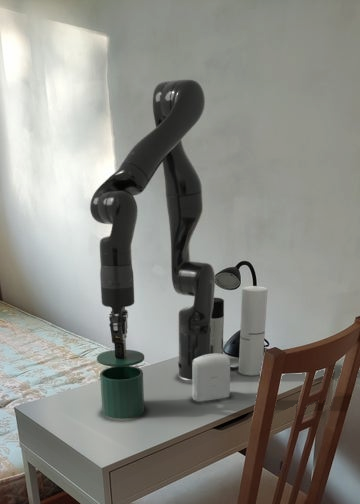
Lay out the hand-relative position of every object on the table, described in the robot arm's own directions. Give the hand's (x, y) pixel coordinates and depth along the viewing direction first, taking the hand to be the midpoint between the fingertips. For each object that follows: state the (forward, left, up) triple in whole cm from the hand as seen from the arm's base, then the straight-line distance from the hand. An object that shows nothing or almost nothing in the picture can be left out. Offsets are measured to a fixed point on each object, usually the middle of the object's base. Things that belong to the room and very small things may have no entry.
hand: (120, 355), depth 128 cm
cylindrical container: (-46, +3, -15) cm, 49 cm away
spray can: (-44, -11, -15) cm, 48 cm away
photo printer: (-22, +9, -15) cm, 28 cm away
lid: (0, 0, -1) cm, 1 cm away
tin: (0, 0, -15) cm, 15 cm away
